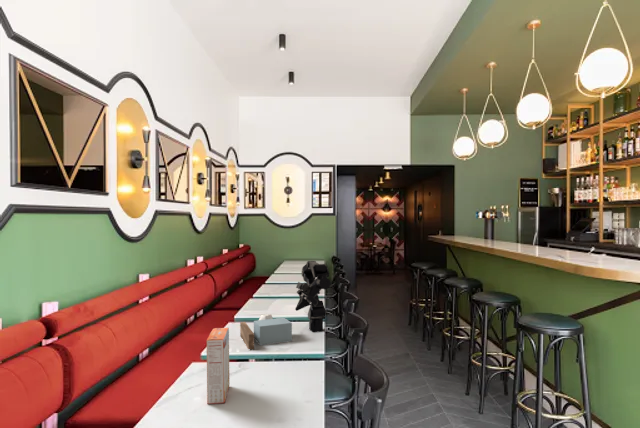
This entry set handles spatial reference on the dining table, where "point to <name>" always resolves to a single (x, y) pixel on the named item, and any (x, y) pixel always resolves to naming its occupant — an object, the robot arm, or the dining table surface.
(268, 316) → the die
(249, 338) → the walnut board
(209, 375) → the cracker box
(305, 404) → the dining table surface
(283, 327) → the slate block
